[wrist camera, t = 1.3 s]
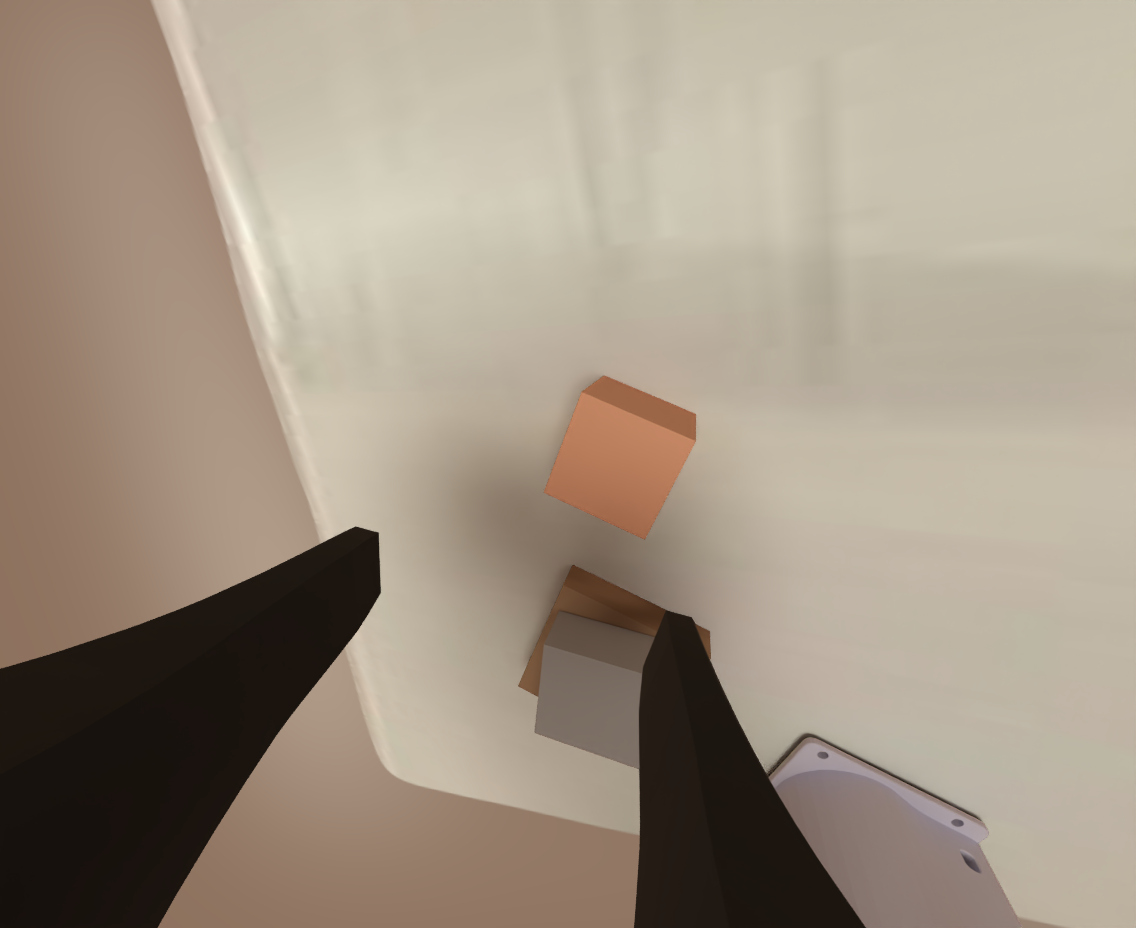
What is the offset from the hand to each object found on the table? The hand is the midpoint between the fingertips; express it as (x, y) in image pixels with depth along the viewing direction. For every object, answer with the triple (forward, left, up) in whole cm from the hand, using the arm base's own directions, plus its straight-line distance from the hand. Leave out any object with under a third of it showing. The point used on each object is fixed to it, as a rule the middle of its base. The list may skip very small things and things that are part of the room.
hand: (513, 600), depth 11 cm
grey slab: (-5, +10, -10) cm, 15 cm away
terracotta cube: (-1, -1, -12) cm, 12 cm away
